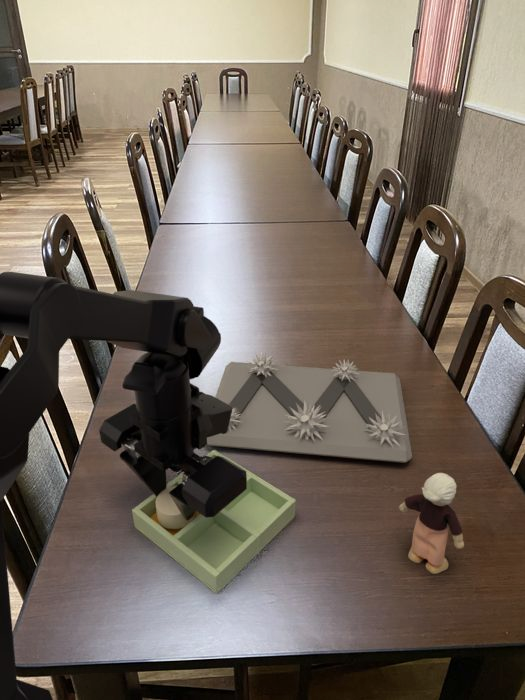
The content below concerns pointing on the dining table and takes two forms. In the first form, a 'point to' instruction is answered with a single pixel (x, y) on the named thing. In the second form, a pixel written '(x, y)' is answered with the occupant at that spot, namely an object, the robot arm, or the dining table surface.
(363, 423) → the decorative plate
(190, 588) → the dining table surface
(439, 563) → the grandmother figurine
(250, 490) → the grid
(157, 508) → the cylinder
